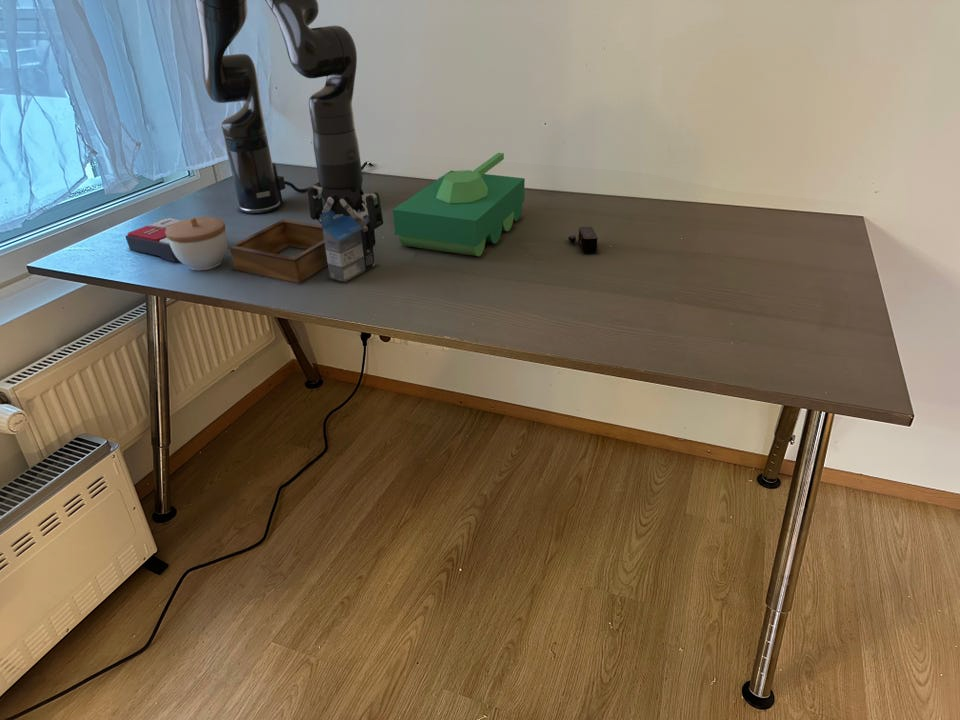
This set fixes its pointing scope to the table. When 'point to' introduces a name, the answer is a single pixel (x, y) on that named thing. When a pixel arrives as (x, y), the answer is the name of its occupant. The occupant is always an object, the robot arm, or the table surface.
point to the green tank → (461, 211)
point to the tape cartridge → (345, 247)
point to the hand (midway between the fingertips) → (350, 245)
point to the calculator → (153, 239)
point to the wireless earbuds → (586, 239)
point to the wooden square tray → (263, 246)
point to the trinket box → (198, 242)
